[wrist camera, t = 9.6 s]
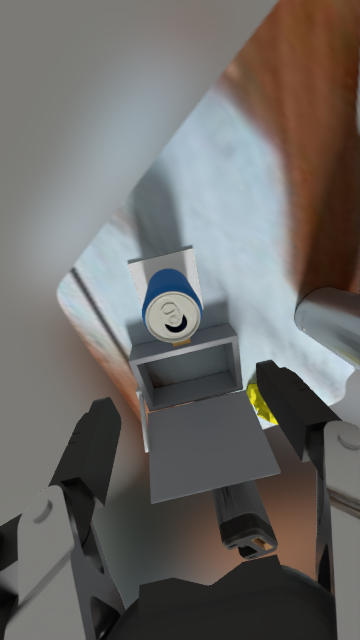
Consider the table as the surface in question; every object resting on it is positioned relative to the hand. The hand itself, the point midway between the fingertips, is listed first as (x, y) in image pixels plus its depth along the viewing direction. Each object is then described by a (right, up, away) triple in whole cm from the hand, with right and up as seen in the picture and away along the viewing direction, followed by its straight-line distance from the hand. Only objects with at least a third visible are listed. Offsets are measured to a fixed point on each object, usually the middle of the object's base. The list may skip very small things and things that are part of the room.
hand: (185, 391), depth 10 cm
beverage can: (-2, +9, +20) cm, 22 cm away
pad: (-2, +9, +20) cm, 22 cm away
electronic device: (+8, -20, +34) cm, 41 cm away
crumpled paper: (+18, -12, +32) cm, 38 cm away
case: (+1, -6, +27) cm, 28 cm away
